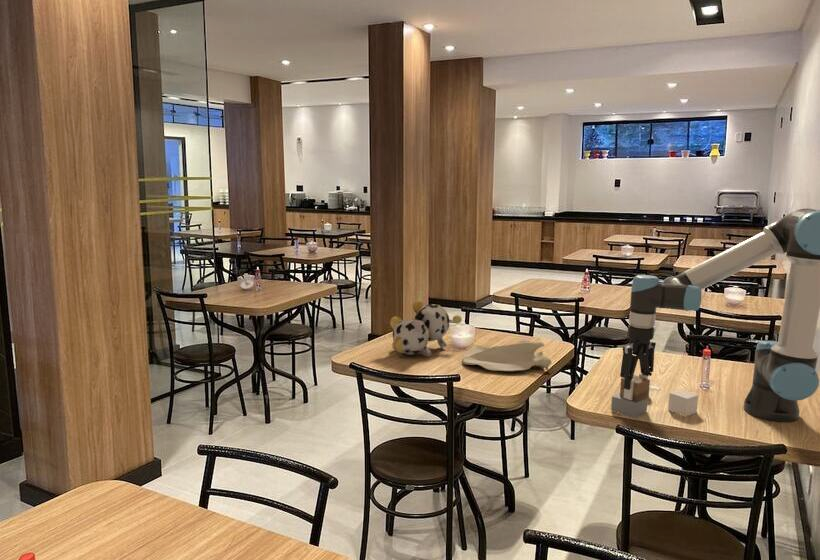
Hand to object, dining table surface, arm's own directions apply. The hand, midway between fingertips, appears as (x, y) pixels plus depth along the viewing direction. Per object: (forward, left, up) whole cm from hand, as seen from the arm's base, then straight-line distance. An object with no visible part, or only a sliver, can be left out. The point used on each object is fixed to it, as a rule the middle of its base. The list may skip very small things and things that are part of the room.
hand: (634, 396), depth 190 cm
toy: (+91, +18, -5) cm, 93 cm away
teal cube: (+9, -13, -5) cm, 17 cm away
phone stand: (+13, -23, -6) cm, 27 cm away
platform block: (+1, +1, -5) cm, 6 cm away
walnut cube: (0, 0, 0) cm, 0 cm away
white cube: (-8, -13, -5) cm, 17 cm away
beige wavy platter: (+58, +2, -6) cm, 58 cm away
